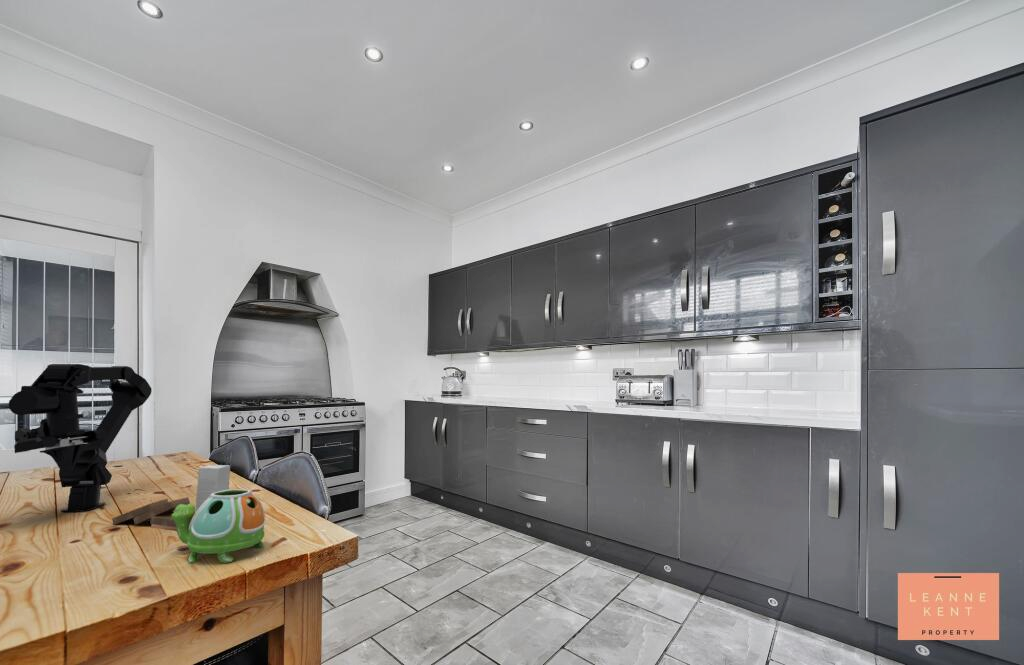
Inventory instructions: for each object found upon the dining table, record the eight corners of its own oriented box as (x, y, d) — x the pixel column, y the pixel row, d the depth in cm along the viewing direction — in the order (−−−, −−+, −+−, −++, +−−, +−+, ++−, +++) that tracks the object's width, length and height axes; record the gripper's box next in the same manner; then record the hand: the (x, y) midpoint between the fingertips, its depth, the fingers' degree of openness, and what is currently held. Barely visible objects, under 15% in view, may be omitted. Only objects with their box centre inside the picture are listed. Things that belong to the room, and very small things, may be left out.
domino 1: (112, 518, 105) (149, 503, 105) (131, 512, 110) (167, 498, 109) (113, 524, 105) (151, 510, 104) (132, 518, 109) (169, 504, 109)
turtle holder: (196, 540, 95) (201, 484, 96) (276, 542, 94) (280, 485, 95) (145, 564, 82) (151, 499, 84) (237, 566, 81) (241, 501, 83)
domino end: (151, 524, 103) (188, 526, 101) (171, 518, 108) (206, 520, 106) (150, 531, 102) (188, 534, 101) (170, 524, 107) (206, 526, 106)
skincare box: (228, 510, 116) (231, 465, 118) (215, 515, 112) (219, 468, 113) (207, 510, 117) (210, 464, 118) (194, 514, 113) (197, 467, 114)
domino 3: (150, 517, 103) (183, 520, 101) (172, 511, 108) (203, 514, 105) (150, 524, 103) (182, 527, 100) (171, 517, 108) (202, 521, 105)
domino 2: (133, 518, 104) (171, 500, 104) (151, 513, 109) (188, 497, 109) (134, 524, 104) (173, 507, 104) (153, 519, 109) (189, 503, 109)
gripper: (63, 416, 119) (67, 473, 117) (-14, 422, 100) (-10, 490, 99) (106, 408, 120) (111, 465, 118) (38, 412, 102) (43, 480, 100)
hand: (67, 474), depth 109 cm, fingers closed
